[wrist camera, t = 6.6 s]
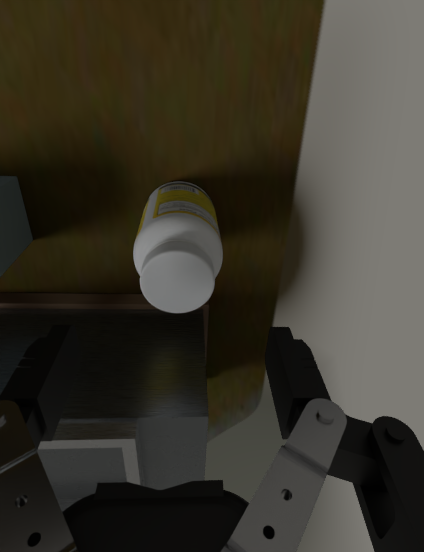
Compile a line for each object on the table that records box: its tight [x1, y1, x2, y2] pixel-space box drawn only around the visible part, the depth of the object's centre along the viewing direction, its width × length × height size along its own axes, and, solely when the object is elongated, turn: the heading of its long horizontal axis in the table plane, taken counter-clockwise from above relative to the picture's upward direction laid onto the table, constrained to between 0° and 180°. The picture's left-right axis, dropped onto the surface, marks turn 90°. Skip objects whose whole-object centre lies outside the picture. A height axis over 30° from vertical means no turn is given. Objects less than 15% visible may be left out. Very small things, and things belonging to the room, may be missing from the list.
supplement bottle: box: [133, 181, 223, 313], centre depth 22 cm, size 5×5×10 cm
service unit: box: [0, 293, 209, 512], centre depth 27 cm, size 19×11×13 cm, turn 87°
